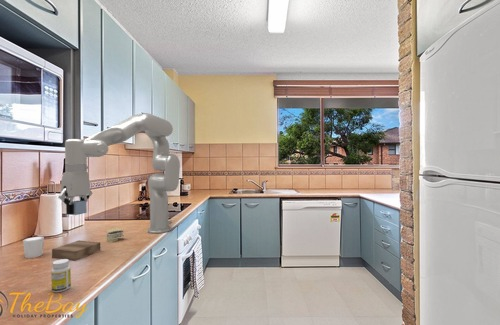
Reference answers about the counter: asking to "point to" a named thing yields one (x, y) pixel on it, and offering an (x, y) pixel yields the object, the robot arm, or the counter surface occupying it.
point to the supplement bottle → (61, 275)
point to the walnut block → (76, 250)
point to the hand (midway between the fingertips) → (76, 212)
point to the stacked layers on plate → (114, 234)
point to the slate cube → (79, 207)
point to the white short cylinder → (33, 247)
